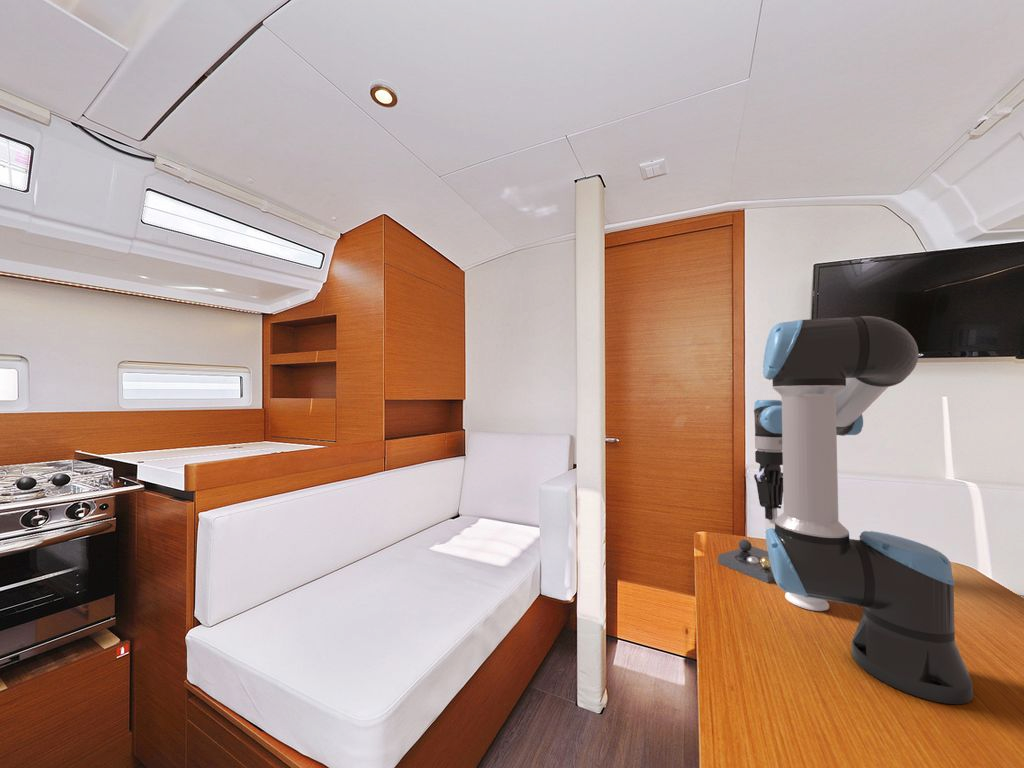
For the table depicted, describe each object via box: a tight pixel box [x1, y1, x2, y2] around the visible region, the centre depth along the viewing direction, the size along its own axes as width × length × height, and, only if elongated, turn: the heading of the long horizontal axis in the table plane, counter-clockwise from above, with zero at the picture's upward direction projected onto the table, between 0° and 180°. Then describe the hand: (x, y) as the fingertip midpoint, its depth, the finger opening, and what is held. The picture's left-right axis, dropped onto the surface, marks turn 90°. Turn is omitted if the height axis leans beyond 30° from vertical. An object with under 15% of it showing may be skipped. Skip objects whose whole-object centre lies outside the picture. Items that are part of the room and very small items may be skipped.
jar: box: [784, 592, 830, 612], centre depth 93 cm, size 11×10×15 cm
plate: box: [717, 545, 776, 584], centre depth 113 cm, size 16×14×2 cm
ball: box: [746, 556, 760, 564], centre depth 112 cm, size 3×3×3 cm
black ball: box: [738, 539, 753, 552], centre depth 118 cm, size 3×3×3 cm
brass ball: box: [760, 557, 771, 569], centre depth 106 cm, size 3×3×3 cm
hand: (771, 529), depth 116 cm, fingers closed
